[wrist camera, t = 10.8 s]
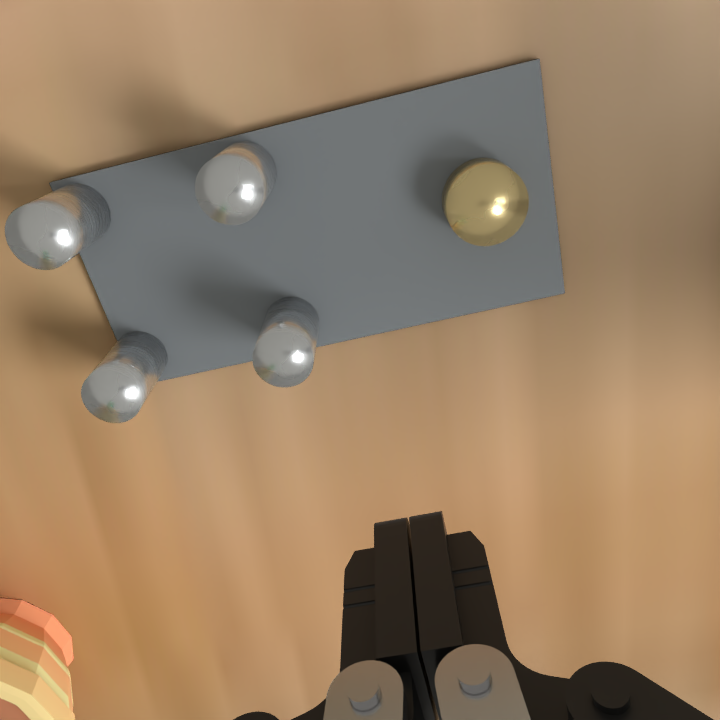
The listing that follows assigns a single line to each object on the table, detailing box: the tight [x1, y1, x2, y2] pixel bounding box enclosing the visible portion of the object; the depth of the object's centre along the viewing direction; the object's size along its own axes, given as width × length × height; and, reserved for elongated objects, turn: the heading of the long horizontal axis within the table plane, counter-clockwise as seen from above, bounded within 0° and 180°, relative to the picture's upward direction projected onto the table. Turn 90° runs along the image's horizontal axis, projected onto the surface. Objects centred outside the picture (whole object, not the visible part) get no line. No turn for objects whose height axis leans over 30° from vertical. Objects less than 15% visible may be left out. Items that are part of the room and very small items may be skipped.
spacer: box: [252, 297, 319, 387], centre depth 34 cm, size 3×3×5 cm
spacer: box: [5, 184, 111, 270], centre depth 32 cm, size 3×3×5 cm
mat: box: [49, 59, 565, 382], centre depth 35 cm, size 25×12×1 cm, turn 103°
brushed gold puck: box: [442, 158, 529, 246], centre depth 33 cm, size 4×4×2 cm
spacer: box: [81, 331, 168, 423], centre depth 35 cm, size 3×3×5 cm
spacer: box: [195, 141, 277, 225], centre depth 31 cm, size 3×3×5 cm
